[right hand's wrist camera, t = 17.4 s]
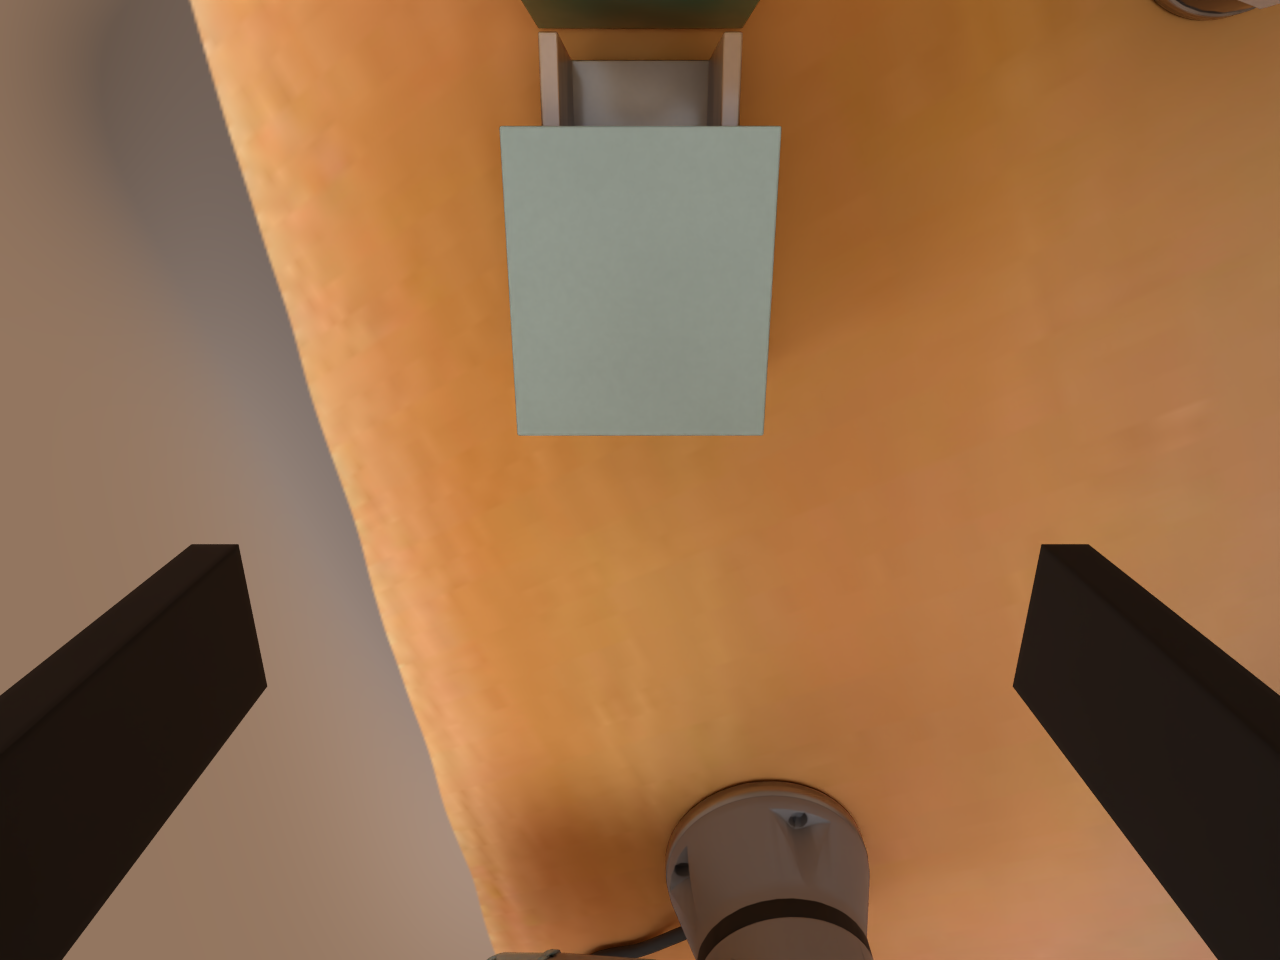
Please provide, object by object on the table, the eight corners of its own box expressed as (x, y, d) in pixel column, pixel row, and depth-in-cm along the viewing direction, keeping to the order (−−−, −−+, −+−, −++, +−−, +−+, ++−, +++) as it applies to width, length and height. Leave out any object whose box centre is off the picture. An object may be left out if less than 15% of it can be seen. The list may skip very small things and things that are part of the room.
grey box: (533, 141, 42) (499, 125, 31) (746, 141, 42) (781, 125, 31) (544, 381, 46) (517, 436, 36) (736, 381, 46) (763, 435, 36)
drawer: (530, -147, 36) (498, -247, 28) (750, -147, 36) (782, -247, 28) (546, 248, 43) (524, 262, 34) (733, 248, 43) (756, 262, 34)
